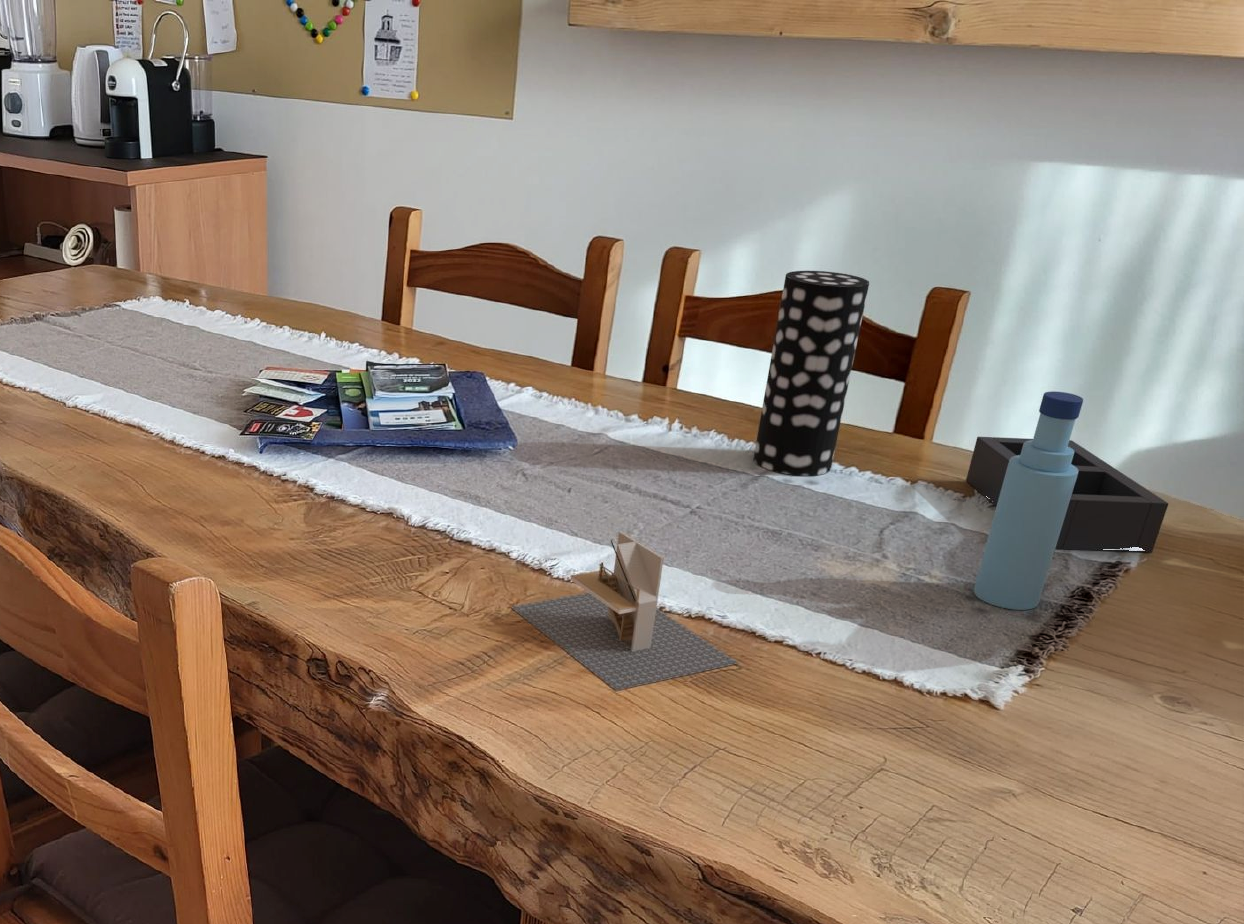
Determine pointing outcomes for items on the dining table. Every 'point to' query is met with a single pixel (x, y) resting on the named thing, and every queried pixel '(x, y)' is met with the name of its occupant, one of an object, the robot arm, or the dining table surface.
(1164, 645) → the dining table surface
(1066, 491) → the bottle
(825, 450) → the spotted tube
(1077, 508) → the holder
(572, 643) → the architectural model
